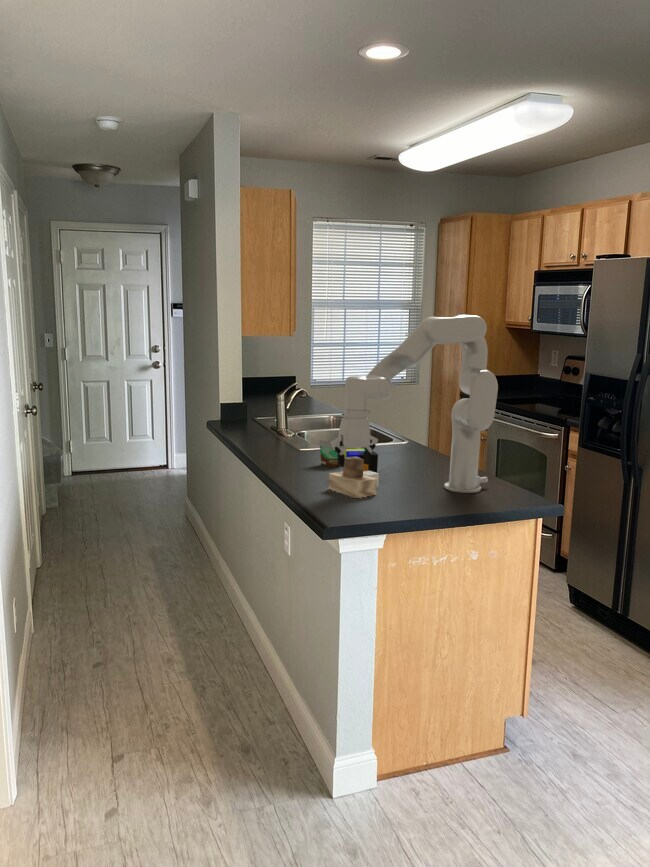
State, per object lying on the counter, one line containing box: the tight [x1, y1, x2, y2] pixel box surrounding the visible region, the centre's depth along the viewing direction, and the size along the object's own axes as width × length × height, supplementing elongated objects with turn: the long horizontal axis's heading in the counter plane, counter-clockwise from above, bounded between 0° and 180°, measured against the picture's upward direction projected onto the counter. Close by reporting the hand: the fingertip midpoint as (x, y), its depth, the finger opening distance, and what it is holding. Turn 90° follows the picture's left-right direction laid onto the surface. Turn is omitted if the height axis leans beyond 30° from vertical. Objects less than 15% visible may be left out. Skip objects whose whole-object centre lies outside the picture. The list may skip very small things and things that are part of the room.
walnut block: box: [342, 457, 364, 478], centre depth 238 cm, size 5×5×6 cm
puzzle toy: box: [344, 448, 379, 473], centre depth 258 cm, size 10×10×10 cm
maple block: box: [328, 470, 378, 499], centre depth 239 cm, size 9×14×6 cm, turn 38°
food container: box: [318, 439, 344, 468], centre depth 277 cm, size 12×6×10 cm, turn 112°
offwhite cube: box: [363, 471, 380, 487], centre depth 248 cm, size 5×5×5 cm
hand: (353, 464), depth 238 cm, fingers open, 9 cm apart
